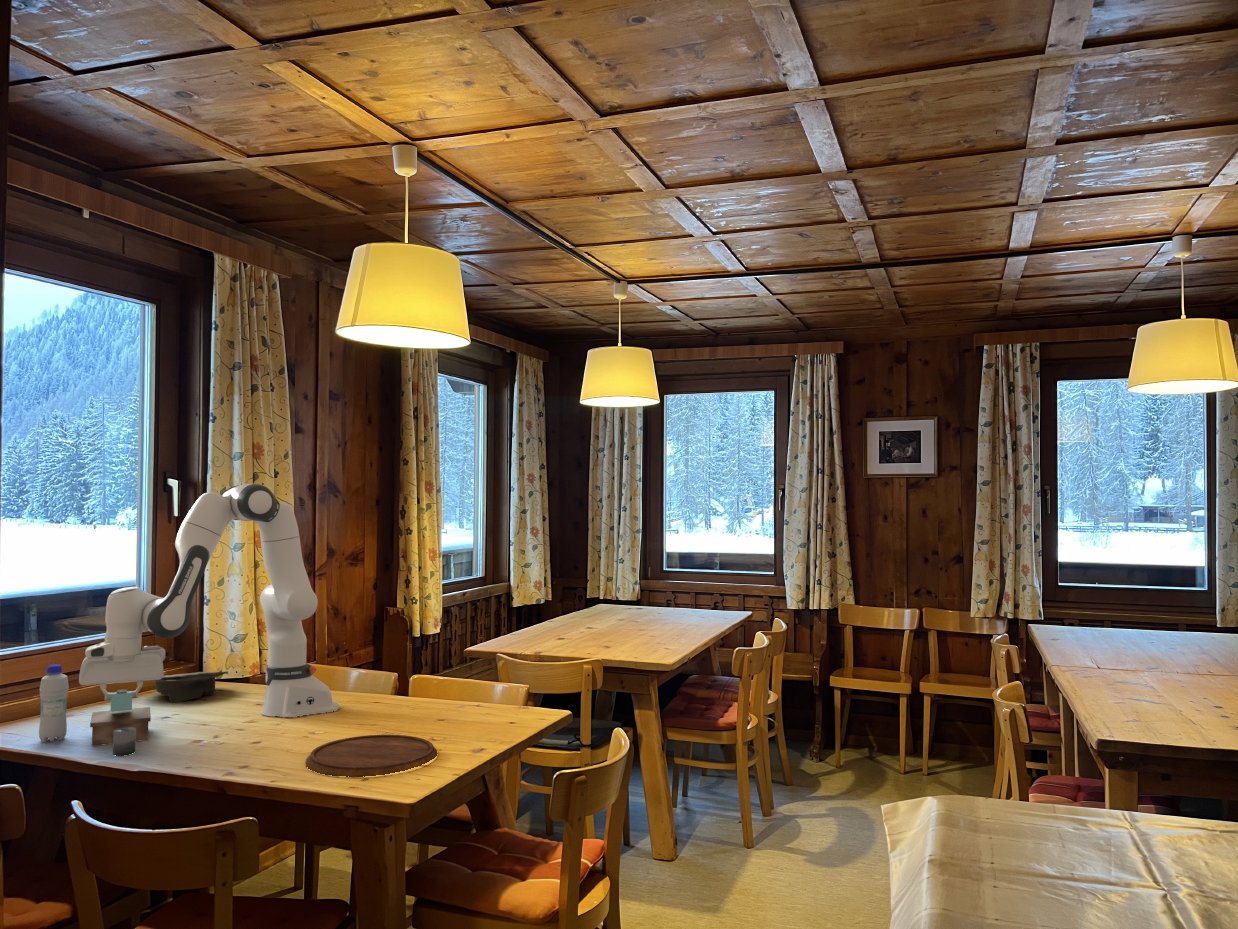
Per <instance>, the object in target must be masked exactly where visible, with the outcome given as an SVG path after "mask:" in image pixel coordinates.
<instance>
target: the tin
mask: <svg viewBox="0 0 1238 929" xmlns="http://www.w3.org/2000/svg"><path fill="white" fill-rule="evenodd" d="M136 742H137V741H136V728H134V727H124V728H118V729H115V730H114V731H113V744H112V756H113V755H116V756H115V757H125V756H124V755H127V756H130V755H129V754H132V753H134V752H135V753H136ZM135 753H134V754H135ZM132 755H133V754H132Z"/></svg>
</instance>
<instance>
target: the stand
mask: <svg viewBox="0 0 1238 929" xmlns="http://www.w3.org/2000/svg"><path fill="white" fill-rule="evenodd" d="M151 715H152V714H151V707H150V706H145V707H134V708H133V707H132V710H124V711H113V712H111V711H110V710H103V711H92V713H91V718H90V723H89V728H91V729H92V731H91V736H92V737H91V746H92V747H95V745H97V746H104V745H103V744H106V745H113V731H114V730H115V729H118V728H124V727H134V728H136V742H140V740H144V741H149V722H151V719H152V718H151V717H152V716H151Z"/></svg>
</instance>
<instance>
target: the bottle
mask: <svg viewBox="0 0 1238 929" xmlns="http://www.w3.org/2000/svg"><path fill="white" fill-rule="evenodd" d="M62 671H63V667H62V665H61V664H51V665H48V666H47V668H46V675H45V676H43V677H41V680H40V685H39V696H40V718H39V728H38V737H39V739H40V741H42V742H43V743H47V742H48V740H49V741H50V743H53V742H54V741H55V738H56V741H57V740H60V741H61V740H64V739H65V738H66V736H67V729H68V727H67V725H68V724H67V708H68V707H67V701H68V700H67V699H68V694H69V688H70V687H69V679H68V675H66V674H63V673H62ZM46 741H47V742H46Z"/></svg>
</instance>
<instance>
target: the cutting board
mask: <svg viewBox="0 0 1238 929" xmlns="http://www.w3.org/2000/svg"><path fill="white" fill-rule="evenodd" d="M437 751H438V749H437V748H436V747H435V746H434V744H433V742H431V741H430V740H427V739H425V738H421V737H417V736H413V735H405V734H369V735H368V734H367V735H360V736H359V735H358V736H352V737H346V738H342V739H337V740H336V739H335V740H333V741H329V742H327V743H324V744H321V745H319V746H317V747H316V748H315V747H314V749H313V750H312V751H311V752H310V754H309V755H308V756H307V758H306V760H305V762H304V763H305V764H306V765H305V764H304V765H305V767H306V768H307V767H308V769H310V770H312V771H315V772H317V773H320V774H325V775H332V776H346V777H348V776H349V777H363V776H364V777H365V776H376V775H385V774H390V773H395V772H400V771H405V770H408V769H411V768H414V767H418V766H421V765H422V764H425V763H427V762H429V761H430V760H432V759H434V758H435V757H436V756H437V754H438V755H439V752H438V753H437ZM308 769H307V770H308ZM310 770H309V771H310ZM312 771H311V772H312ZM317 773H316V774H317ZM320 774H319V775H320Z"/></svg>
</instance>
